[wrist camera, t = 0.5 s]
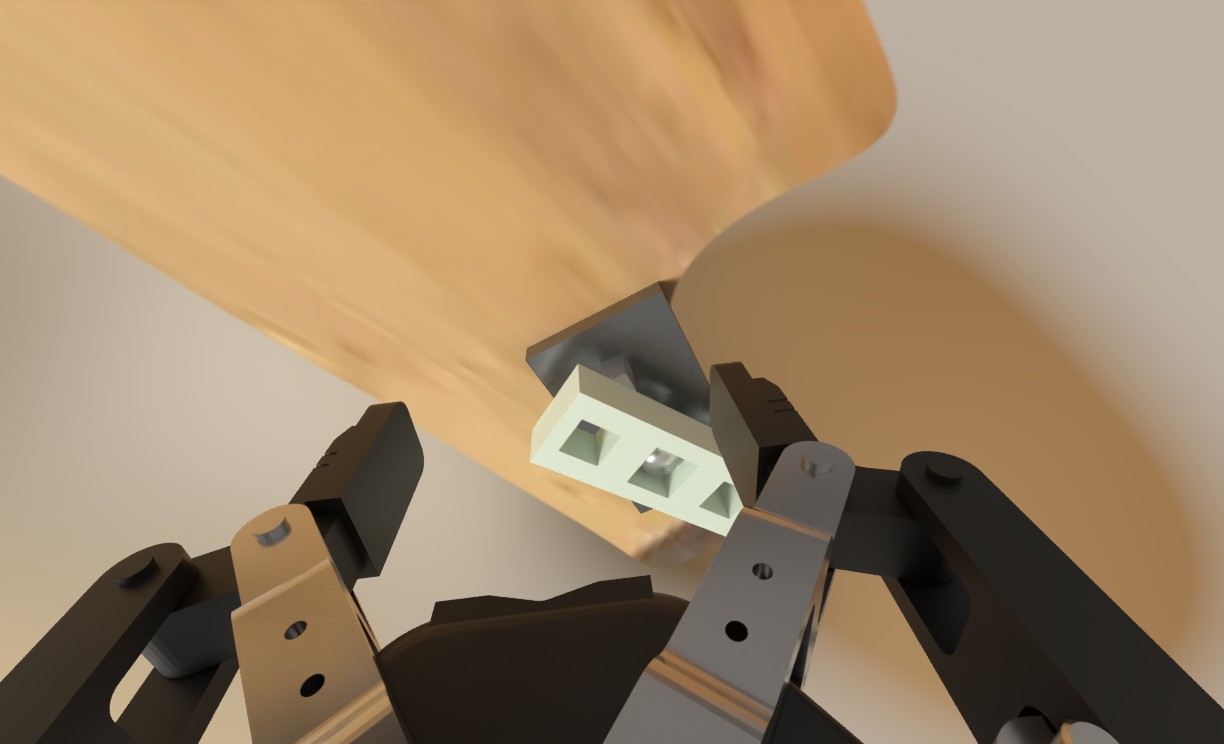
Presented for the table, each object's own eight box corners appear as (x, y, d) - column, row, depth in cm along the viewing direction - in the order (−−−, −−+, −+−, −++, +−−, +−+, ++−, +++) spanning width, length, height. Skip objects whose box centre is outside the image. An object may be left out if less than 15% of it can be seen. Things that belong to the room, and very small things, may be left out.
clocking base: (526, 348, 33) (520, 401, 28) (657, 281, 31) (676, 325, 26) (638, 500, 43) (649, 559, 38) (744, 455, 41) (770, 511, 36)
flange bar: (532, 429, 32) (529, 461, 30) (578, 363, 30) (579, 392, 27) (715, 504, 38) (726, 536, 35) (767, 454, 35) (782, 485, 33)
